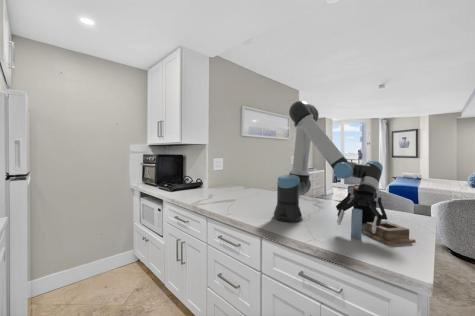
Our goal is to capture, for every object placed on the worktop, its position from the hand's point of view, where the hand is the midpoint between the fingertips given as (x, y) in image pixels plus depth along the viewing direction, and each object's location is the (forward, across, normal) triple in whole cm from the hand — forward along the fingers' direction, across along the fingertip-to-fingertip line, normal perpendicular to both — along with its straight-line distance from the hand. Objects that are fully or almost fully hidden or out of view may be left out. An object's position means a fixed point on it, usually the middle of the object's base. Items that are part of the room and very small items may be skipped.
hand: (355, 227), depth 94 cm
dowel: (+2, 0, -5) cm, 5 cm away
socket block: (-6, -9, -13) cm, 16 cm away
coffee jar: (-18, +5, -25) cm, 31 cm away
